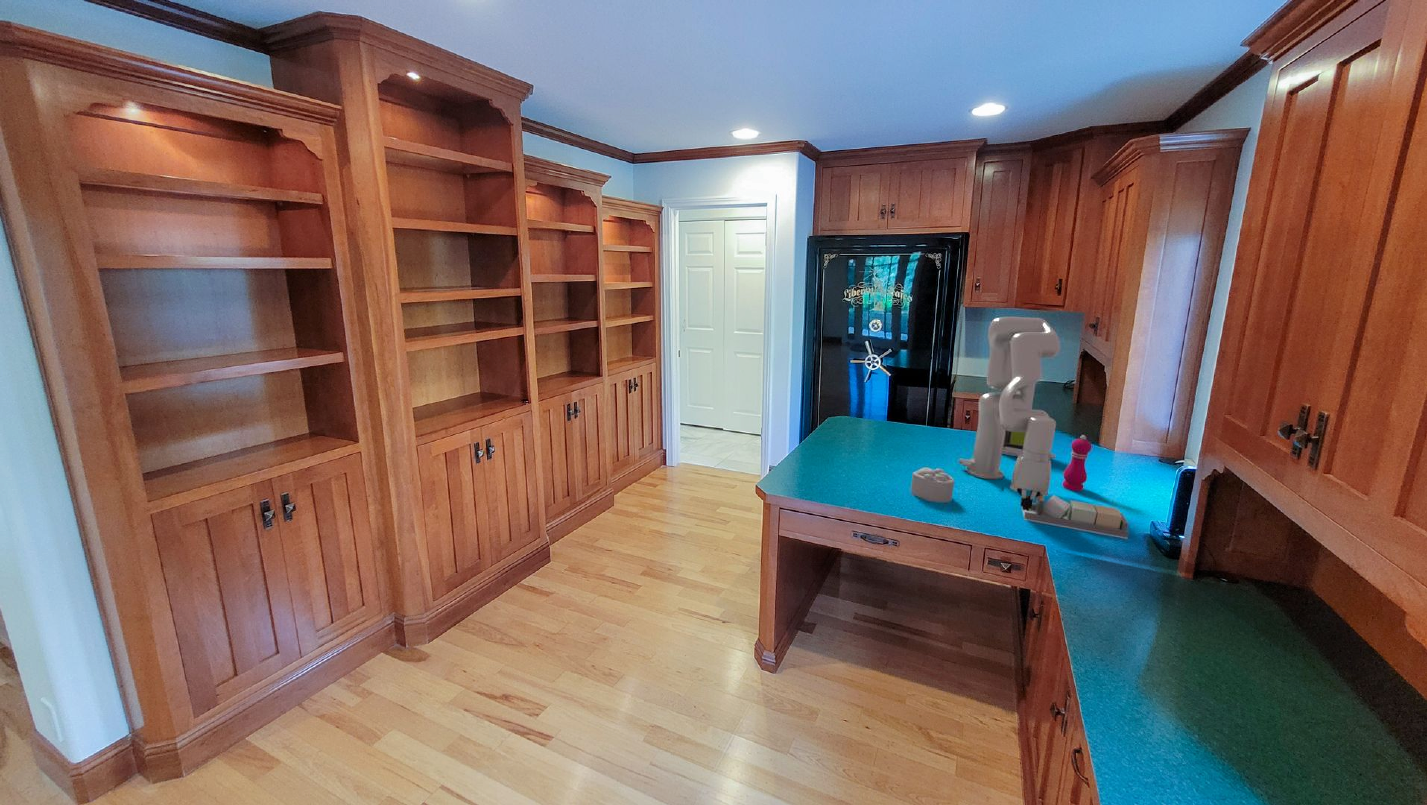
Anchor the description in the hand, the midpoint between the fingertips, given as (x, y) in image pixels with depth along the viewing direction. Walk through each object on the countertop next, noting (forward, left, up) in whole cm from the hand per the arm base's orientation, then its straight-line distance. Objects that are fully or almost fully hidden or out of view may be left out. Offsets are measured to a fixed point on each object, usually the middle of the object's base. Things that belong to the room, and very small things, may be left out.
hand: (1025, 508), depth 179 cm
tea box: (+2, +64, -3) cm, 64 cm away
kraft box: (+22, 0, -1) cm, 22 cm away
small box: (+8, 0, -1) cm, 8 cm away
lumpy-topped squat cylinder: (-28, +3, -3) cm, 28 cm away
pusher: (+4, 0, -1) cm, 4 cm away
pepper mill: (+18, +33, -3) cm, 38 cm away
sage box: (+15, 0, -1) cm, 15 cm away
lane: (+13, 0, -2) cm, 13 cm away
